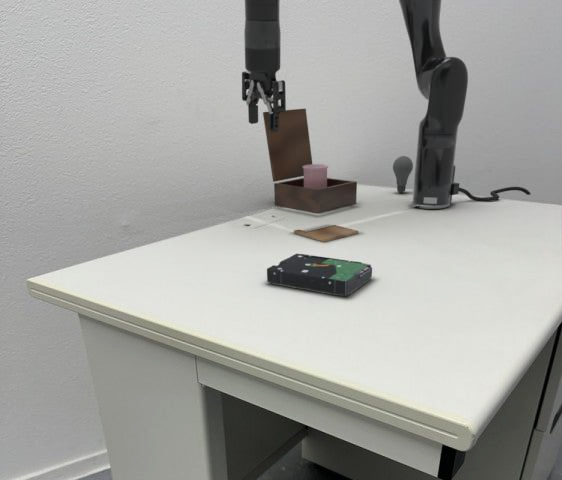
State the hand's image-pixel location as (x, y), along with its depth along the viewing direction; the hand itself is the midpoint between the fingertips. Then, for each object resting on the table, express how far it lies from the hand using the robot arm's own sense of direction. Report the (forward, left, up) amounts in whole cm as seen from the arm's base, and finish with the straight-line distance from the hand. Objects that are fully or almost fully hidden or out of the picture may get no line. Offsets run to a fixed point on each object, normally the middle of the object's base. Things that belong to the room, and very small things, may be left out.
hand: (263, 127), depth 124 cm
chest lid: (-16, -10, -6) cm, 19 cm away
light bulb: (-47, +2, -21) cm, 51 cm away
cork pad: (-1, +21, -21) cm, 29 cm away
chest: (-17, -1, -21) cm, 26 cm away
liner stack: (-17, -1, -20) cm, 26 cm away
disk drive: (+21, +44, -21) cm, 53 cm away
